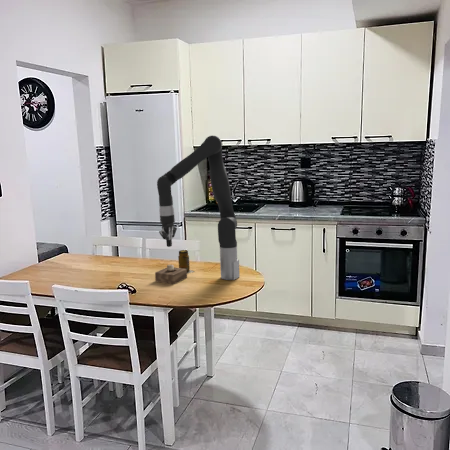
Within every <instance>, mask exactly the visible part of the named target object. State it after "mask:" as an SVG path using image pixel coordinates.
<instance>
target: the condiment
mask: <svg viewBox="0 0 450 450" xmlns="http://www.w3.org/2000/svg"><path fill="white" fill-rule="evenodd" d="M177 257H178V268H183V269H187V274H191V273H194V272H195V271H194V270H191V269H190V256H189V251H188V250H187V249H182V250H179V251H178V256H177Z"/></svg>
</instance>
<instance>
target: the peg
mask: <svg viewBox="0 0 450 450" xmlns="http://www.w3.org/2000/svg"><path fill="white" fill-rule="evenodd" d="M174 267H175V266H174V264H167V265H166V268H167V272H174Z"/></svg>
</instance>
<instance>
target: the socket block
mask: <svg viewBox="0 0 450 450" xmlns="http://www.w3.org/2000/svg"><path fill="white" fill-rule="evenodd" d="M154 274H155V275H154V277H155V282H156V283H164V284H168V285H169V284H170V285H176V284H178V283H180V282H182V281H184V280H186V279H188V273H187V269H183V268H179V267H175V266H174V272H167V267H165V268H163V269H159V270H158V271H155V273H154Z"/></svg>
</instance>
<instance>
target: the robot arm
mask: <svg viewBox="0 0 450 450" xmlns="http://www.w3.org/2000/svg"><path fill="white" fill-rule="evenodd" d="M222 147H223V144H222V140H221V138H220V137H218V136H216V135H209V136H207V137H205V139H204V141H203V142H202V143H201V144H200V145H199V146H198V147H197V148H196V149H195V150H194V151H193V152H191V153H190V154H188V155H187V156H186V157H184V158H183V159H182V160H181V161H179V162H177V163H175V165H174V166H172V167H171V168H170V170H168V171H166V172H165V173H164V174H163V175H161V176H160V177H158V179H157V181H156V186H157V187H156V188H157V192H158V193H157V194H158V202H159V203H158V205H159V207H158V208H159V222H160V224H161V229H160V230H159V231H158V233H159V235H160V236H161V238H162V239H163V240H166V241H165V242H166V243H165V244H166V247H168V248H171V247H172V246H173V241H172V240H173V238H175V236H176V232H177V229H178V228H177V227H176V226H175V225H174V223H175V221H176V219H175V207H174V202H173V201H174V200H173V196H172V186H173V185H174V184H175V183H177V181H179V180H181V179H182V178H183V177H185V176H187V174H188V173H190V172H191V171H192V170H193V169H195V168H196V167H197V166H198V165H199V164H200V163H201V162H203V161H204V160H205V159H207V160H208V164H209V177H210V178H209V179H210V184H211V191H212V195H213V197H214V200H215V201H216V203H217V206H218V209H219V218H220V220H219V221H218V222H217V238H218V243H219V262H220V265H219V266H220V267H219V268H220V278H221V279H222V280H226V281H234V280H236V279H238V278H240V276H241V275H240V259H238V242H237V237H236V229H237V228H238V220H237V218H236V215H235V211H234V207H233V200H232V192H231V187H230V182H229V181H230V180H229V178H228V174H227V173H228V172H227V170H226V167H225V164H224V159H223V150H222Z"/></svg>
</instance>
